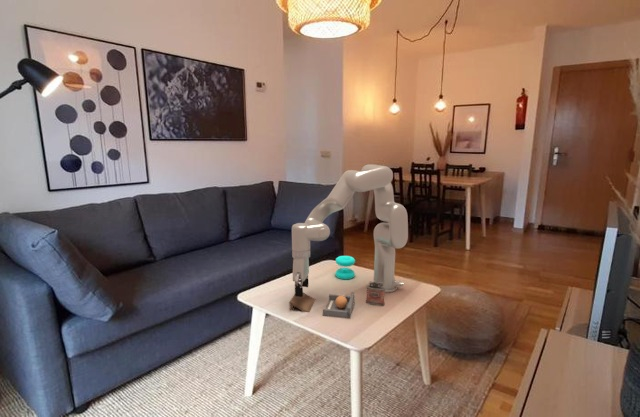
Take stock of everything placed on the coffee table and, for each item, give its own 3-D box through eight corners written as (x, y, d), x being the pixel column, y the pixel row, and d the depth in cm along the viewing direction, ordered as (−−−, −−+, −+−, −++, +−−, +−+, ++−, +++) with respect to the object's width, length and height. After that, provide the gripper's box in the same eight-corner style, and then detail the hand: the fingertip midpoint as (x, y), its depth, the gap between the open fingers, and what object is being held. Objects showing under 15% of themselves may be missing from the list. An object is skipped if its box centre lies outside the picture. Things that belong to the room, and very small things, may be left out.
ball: (335, 294, 150) (346, 293, 149) (337, 305, 150) (348, 304, 149) (333, 299, 145) (345, 298, 144) (335, 310, 145) (347, 309, 145)
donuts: (337, 254, 187) (356, 255, 184) (337, 272, 189) (355, 273, 186) (333, 260, 177) (353, 262, 175) (333, 279, 179) (353, 280, 177)
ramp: (315, 301, 156) (315, 291, 155) (309, 314, 144) (309, 303, 143) (296, 299, 157) (296, 289, 157) (289, 312, 146) (289, 301, 145)
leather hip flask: (365, 303, 152) (365, 281, 150) (366, 300, 155) (367, 279, 153) (383, 306, 149) (384, 284, 148) (385, 303, 153) (386, 281, 151)
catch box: (354, 301, 154) (354, 292, 153) (350, 318, 139) (350, 308, 138) (329, 299, 156) (329, 290, 155) (322, 315, 141) (322, 305, 141)
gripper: (298, 246, 156) (298, 282, 159) (286, 259, 139) (287, 299, 142) (314, 247, 154) (315, 283, 157) (304, 260, 137) (305, 301, 141)
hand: (301, 291), depth 150 cm, fingers open, 9 cm apart
